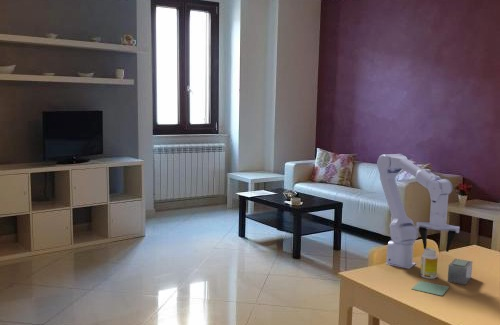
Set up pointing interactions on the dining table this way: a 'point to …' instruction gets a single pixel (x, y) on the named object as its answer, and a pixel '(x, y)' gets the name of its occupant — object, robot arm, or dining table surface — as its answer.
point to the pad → (430, 288)
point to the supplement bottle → (429, 263)
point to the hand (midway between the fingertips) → (436, 249)
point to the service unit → (460, 271)
